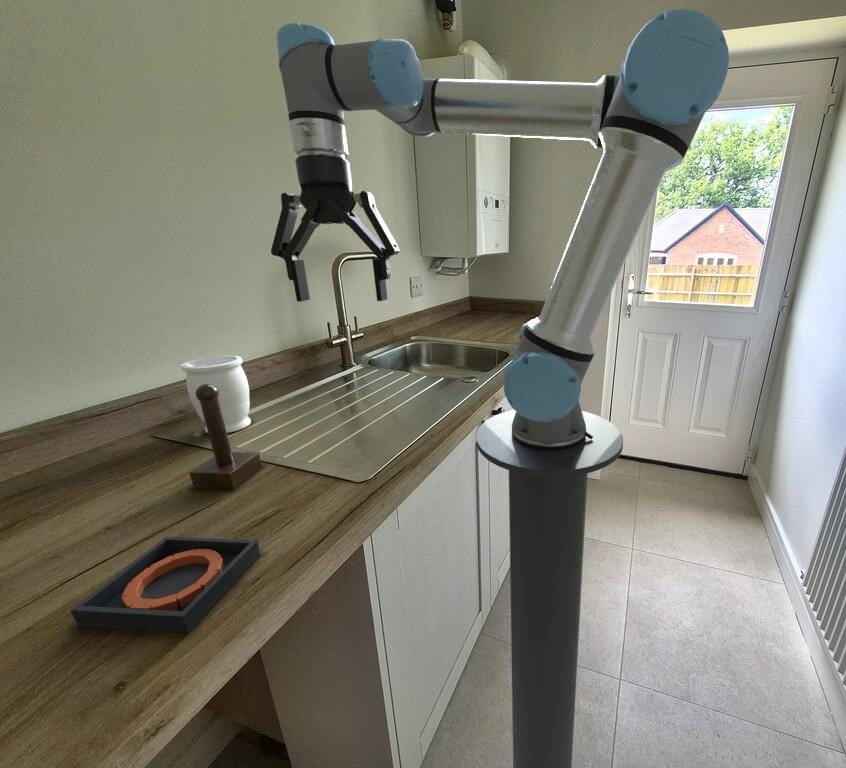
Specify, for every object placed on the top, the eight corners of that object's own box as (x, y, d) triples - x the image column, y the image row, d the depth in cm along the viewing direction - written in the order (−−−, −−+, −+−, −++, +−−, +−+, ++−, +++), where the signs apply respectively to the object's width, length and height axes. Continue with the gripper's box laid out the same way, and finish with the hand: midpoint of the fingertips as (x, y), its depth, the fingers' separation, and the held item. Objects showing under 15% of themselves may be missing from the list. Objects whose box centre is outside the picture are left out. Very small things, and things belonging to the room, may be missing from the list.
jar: (266, 417, 94) (253, 354, 90) (236, 437, 84) (219, 367, 80) (222, 417, 95) (206, 354, 90) (186, 437, 85) (166, 367, 80)
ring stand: (262, 467, 73) (241, 378, 67) (234, 489, 66) (208, 392, 61) (225, 466, 73) (201, 377, 68) (193, 488, 66) (164, 391, 61)
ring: (240, 558, 51) (238, 550, 50) (181, 619, 42) (177, 610, 42) (174, 555, 51) (171, 547, 51) (102, 614, 43) (99, 605, 43)
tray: (261, 555, 52) (257, 540, 51) (188, 633, 41) (182, 616, 41) (171, 550, 53) (166, 536, 52) (77, 627, 42) (69, 610, 41)
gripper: (225, 154, 59) (256, 303, 66) (394, 149, 57) (409, 302, 64) (259, 164, 66) (284, 298, 73) (410, 160, 64) (422, 297, 71)
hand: (342, 300), depth 68 cm, fingers open, 13 cm apart
